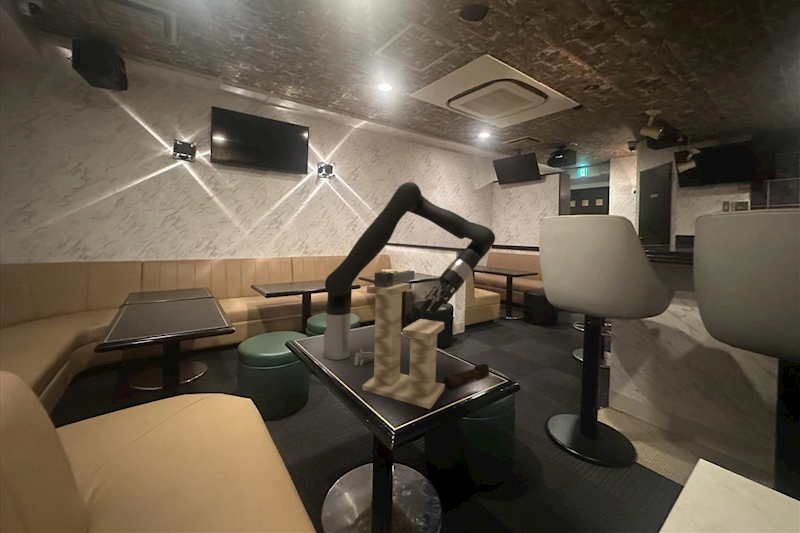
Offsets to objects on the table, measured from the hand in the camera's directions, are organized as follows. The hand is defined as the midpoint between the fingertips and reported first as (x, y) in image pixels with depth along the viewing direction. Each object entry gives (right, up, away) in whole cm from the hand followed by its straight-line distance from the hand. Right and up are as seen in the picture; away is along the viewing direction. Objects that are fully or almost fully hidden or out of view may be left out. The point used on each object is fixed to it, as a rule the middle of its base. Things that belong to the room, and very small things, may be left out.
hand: (426, 311), depth 100 cm
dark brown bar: (+14, -23, +1) cm, 27 cm away
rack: (-7, -23, -6) cm, 25 cm away
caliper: (-17, -21, +16) cm, 31 cm away
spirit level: (-9, +10, -1) cm, 14 cm away
